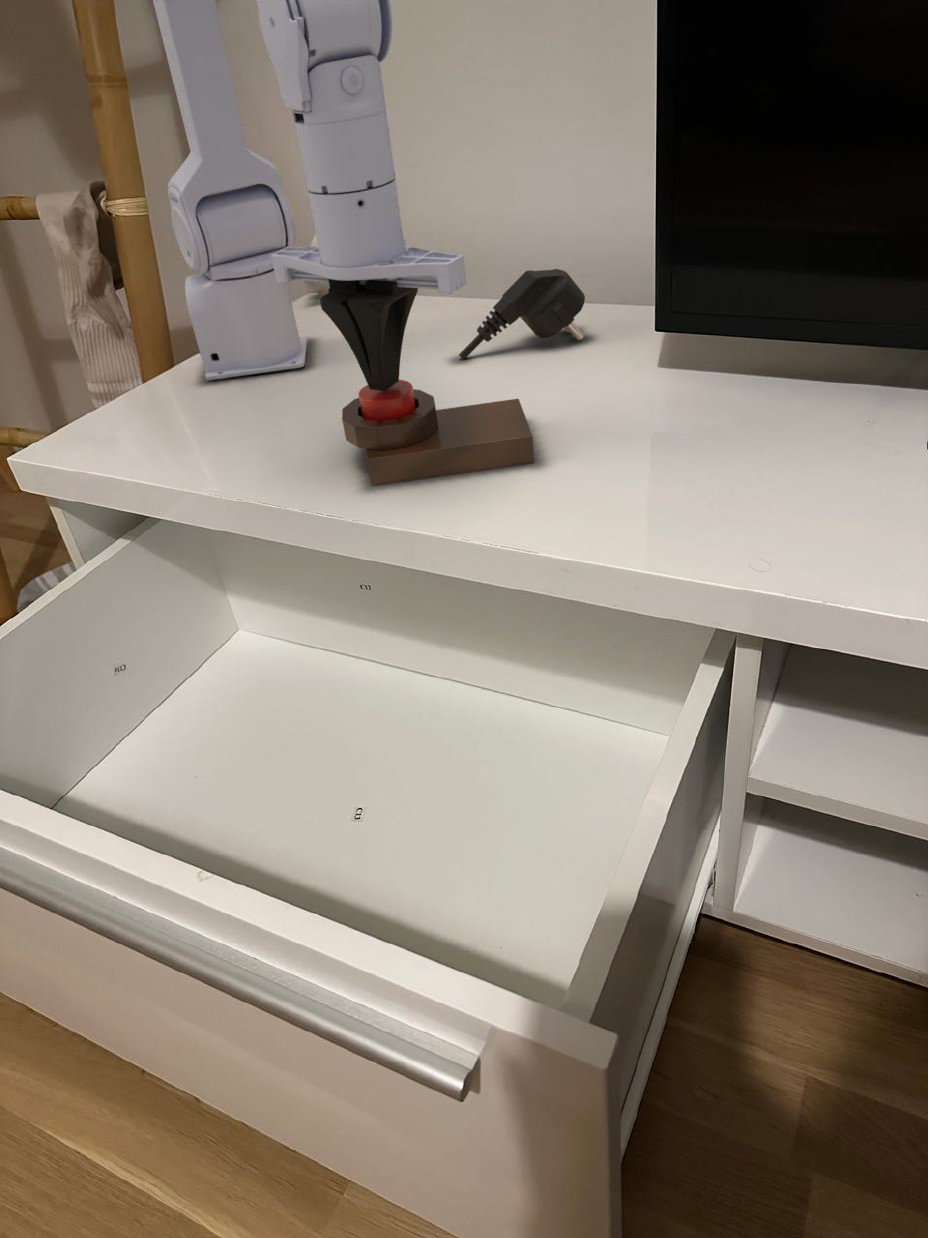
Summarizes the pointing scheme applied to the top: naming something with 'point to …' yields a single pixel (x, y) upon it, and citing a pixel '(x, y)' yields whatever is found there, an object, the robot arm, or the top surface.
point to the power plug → (535, 307)
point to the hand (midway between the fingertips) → (384, 384)
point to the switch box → (440, 439)
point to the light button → (387, 402)
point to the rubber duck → (314, 285)
